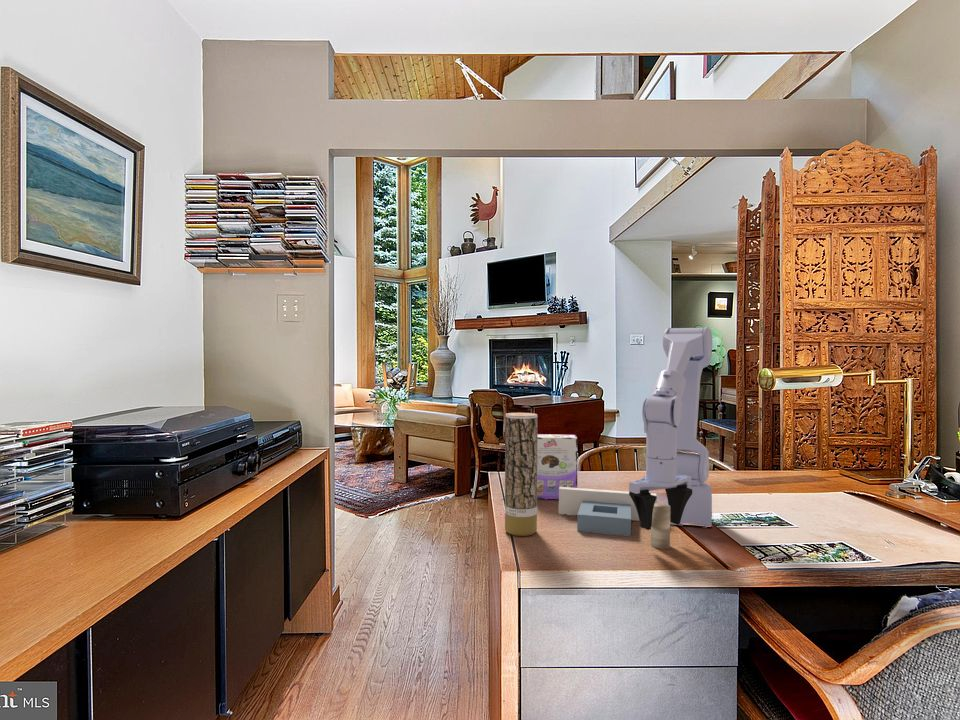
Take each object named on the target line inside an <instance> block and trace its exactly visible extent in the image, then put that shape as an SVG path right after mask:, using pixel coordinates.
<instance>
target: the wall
mask: <svg viewBox="0 0 960 720" xmlns="http://www.w3.org/2000/svg"><path fill="white" fill-rule="evenodd" d="M650 493H651V495H653V496H656V497H657V498H658V496H657V493H656V492H655V493H652V492H650ZM582 501H592V502H604V503H616V504H628V505H631V521H639V522H640V520H639V516H638V513H637V510H636V507H635V504H634V502H633V500H632V498H631V497H630V495H629V490H627V491H625V490H624V491H623V490H612V489H597V488H596V489H595V488H584V487H583V488H582V487H577V488H571V487H560V488H559V500H558V515H564V514H567V516H576V515H578V511H579V508H580V505H581V502H582ZM655 503H658V500H657V499H656V501H655Z"/></svg>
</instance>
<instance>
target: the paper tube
mask: <svg viewBox="0 0 960 720" xmlns="http://www.w3.org/2000/svg"><path fill="white" fill-rule="evenodd" d="M538 417H539V416H538V414H537V413H534V412H533V413H532V412H508V413H507V412H506V413H505V428H504V429H505V430H504V431H505V433H504V434H505V435H504V436H505V439H504V440H505V442H504V444H505V445H504V448H505V449H504V452H505V453H504V457H505V458H504V463H505V464H504V466H505V467H504V530H505V532H506V533H508V534H509V535H512V536H516V537H526V536H527V537H528V536H531V535H534V534H535V533H536V532H537V528H538V527H537V526H538V524H537V523H538V519H537V518H538V517H537V516H538V499H537V438H538V434H539V433H538V430H539V429H538V425H539V424H538Z"/></svg>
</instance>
